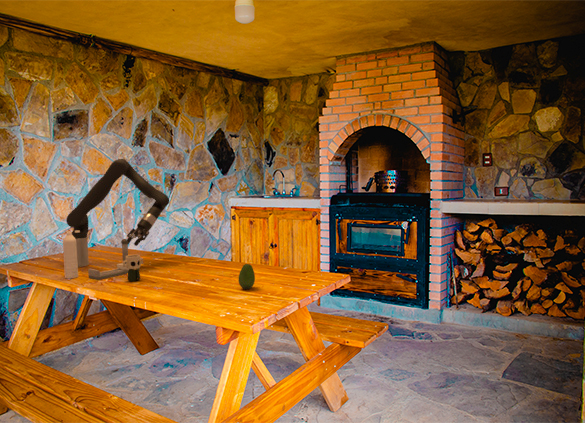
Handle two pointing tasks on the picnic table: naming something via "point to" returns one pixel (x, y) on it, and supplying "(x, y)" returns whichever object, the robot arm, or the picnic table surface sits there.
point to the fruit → (246, 277)
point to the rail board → (106, 273)
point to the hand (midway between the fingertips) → (130, 244)
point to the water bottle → (70, 256)
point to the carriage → (123, 253)
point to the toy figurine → (133, 266)
